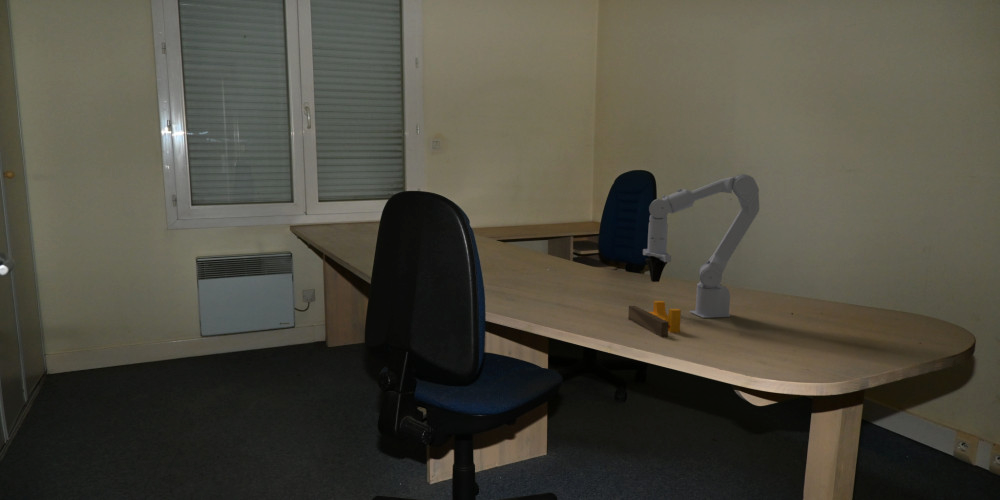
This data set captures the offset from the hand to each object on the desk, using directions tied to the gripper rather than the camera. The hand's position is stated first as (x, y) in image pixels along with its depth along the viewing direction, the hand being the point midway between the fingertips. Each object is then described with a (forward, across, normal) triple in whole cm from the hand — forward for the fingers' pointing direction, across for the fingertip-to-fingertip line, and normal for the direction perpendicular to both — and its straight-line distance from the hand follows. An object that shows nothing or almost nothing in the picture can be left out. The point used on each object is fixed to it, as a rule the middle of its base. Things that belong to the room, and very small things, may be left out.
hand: (655, 281), depth 207 cm
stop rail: (+9, +18, -12) cm, 23 cm away
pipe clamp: (+10, +18, -7) cm, 22 cm away
